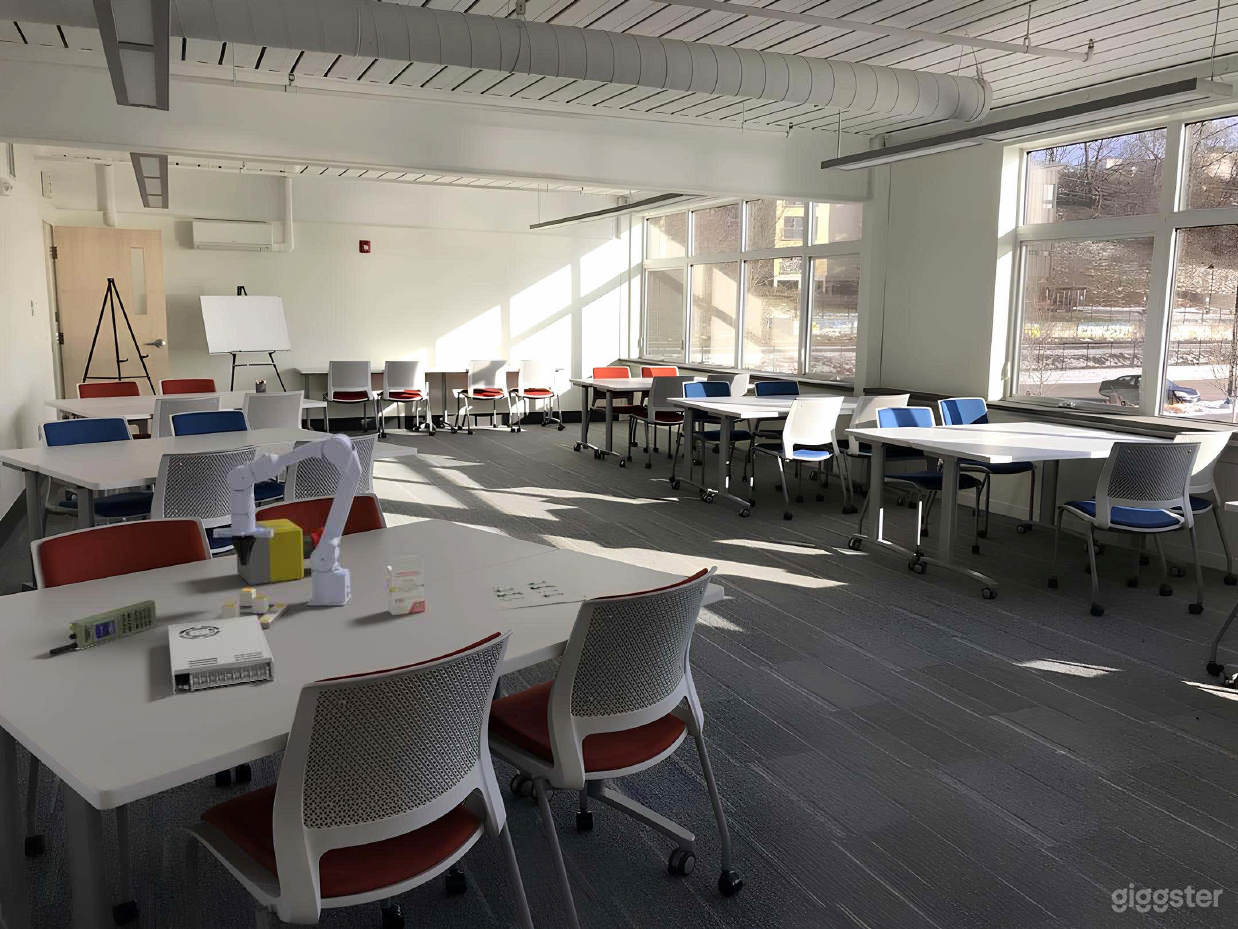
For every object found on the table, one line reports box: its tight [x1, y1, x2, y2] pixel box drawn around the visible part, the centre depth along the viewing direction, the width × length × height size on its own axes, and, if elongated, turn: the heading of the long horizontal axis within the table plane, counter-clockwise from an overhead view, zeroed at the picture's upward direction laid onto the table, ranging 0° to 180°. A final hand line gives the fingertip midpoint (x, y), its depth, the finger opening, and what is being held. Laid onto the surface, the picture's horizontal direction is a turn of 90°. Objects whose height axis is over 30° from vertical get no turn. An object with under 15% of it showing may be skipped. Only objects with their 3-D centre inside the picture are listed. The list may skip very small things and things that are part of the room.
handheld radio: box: [49, 599, 158, 656], centre depth 214 cm, size 7×3×25 cm
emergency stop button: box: [236, 518, 325, 586], centre depth 272 cm, size 15×24×15 cm, turn 124°
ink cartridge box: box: [386, 555, 426, 616], centre depth 240 cm, size 9×5×15 cm, turn 116°
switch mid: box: [252, 594, 270, 613], centre depth 232 cm, size 3×3×4 cm
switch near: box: [221, 601, 240, 619], centre depth 226 cm, size 3×3×4 cm
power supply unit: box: [167, 615, 276, 693], centre depth 203 cm, size 19×33×5 cm, turn 27°
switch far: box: [239, 587, 257, 606], centre depth 238 cm, size 3×3×4 cm
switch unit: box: [213, 602, 290, 629], centre depth 233 cm, size 14×16×2 cm
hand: (244, 564), depth 243 cm, fingers closed
